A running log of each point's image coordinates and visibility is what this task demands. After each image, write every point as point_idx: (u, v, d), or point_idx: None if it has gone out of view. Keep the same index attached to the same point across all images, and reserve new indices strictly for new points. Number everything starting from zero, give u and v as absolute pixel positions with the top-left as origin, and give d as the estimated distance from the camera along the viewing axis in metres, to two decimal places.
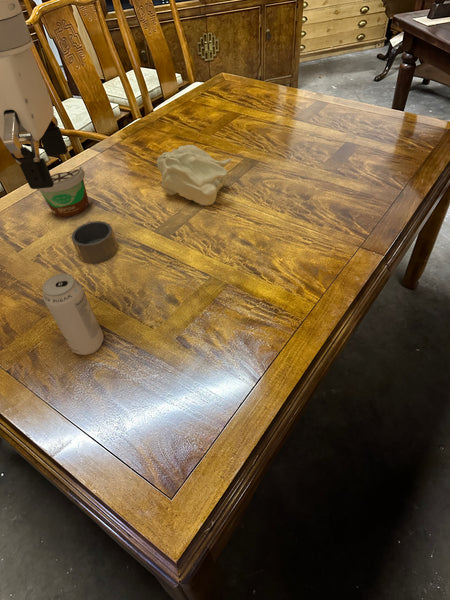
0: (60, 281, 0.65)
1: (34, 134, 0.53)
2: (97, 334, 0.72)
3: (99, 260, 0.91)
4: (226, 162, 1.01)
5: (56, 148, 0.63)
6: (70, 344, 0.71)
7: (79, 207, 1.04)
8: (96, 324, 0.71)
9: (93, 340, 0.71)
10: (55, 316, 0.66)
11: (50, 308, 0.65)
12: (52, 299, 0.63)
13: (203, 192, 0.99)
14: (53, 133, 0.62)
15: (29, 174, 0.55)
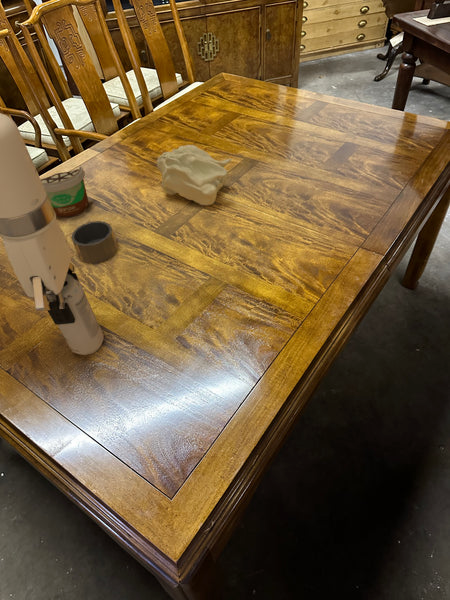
0: None
1: (56, 291, 0.59)
2: (97, 334, 0.72)
3: (99, 260, 0.91)
4: (226, 162, 1.01)
5: None
6: (70, 344, 0.71)
7: (79, 207, 1.04)
8: (96, 324, 0.71)
9: (93, 340, 0.71)
10: None
11: None
12: (52, 299, 0.63)
13: (203, 192, 0.99)
14: None
15: (54, 316, 0.63)
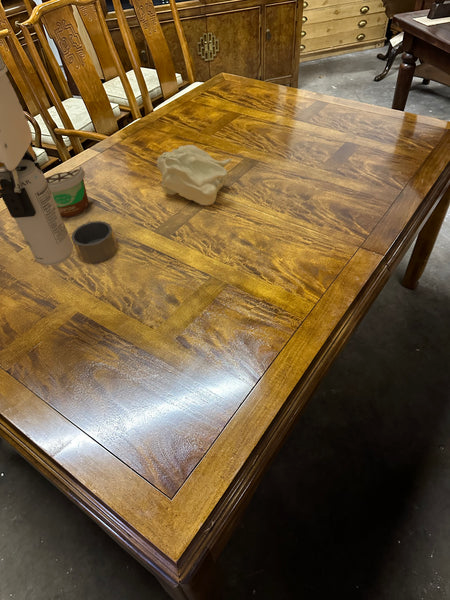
0: (18, 166, 0.56)
1: (8, 164, 0.50)
2: (64, 240, 0.63)
3: (99, 260, 0.91)
4: (226, 162, 1.01)
5: None
6: (33, 249, 0.62)
7: (79, 207, 1.04)
8: (63, 228, 0.62)
9: (59, 246, 0.62)
10: None
11: None
12: None
13: (203, 192, 0.99)
14: None
15: (10, 204, 0.54)
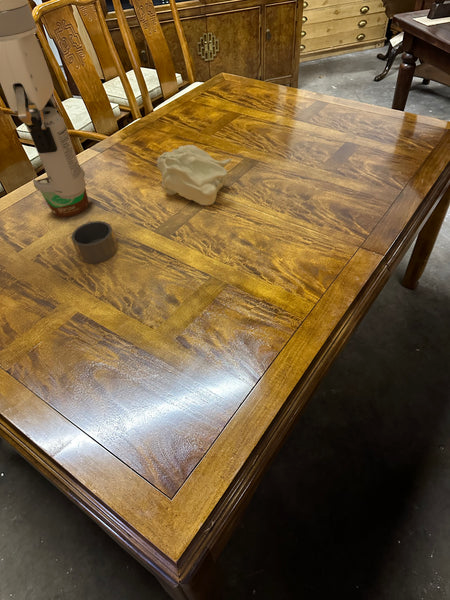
0: (43, 111, 0.70)
1: (37, 104, 0.64)
2: (79, 176, 0.77)
3: (99, 260, 0.91)
4: (226, 162, 1.01)
5: None
6: (54, 184, 0.76)
7: (79, 207, 1.04)
8: (78, 166, 0.76)
9: (75, 181, 0.76)
10: None
11: None
12: None
13: (203, 192, 0.99)
14: None
15: (37, 140, 0.68)
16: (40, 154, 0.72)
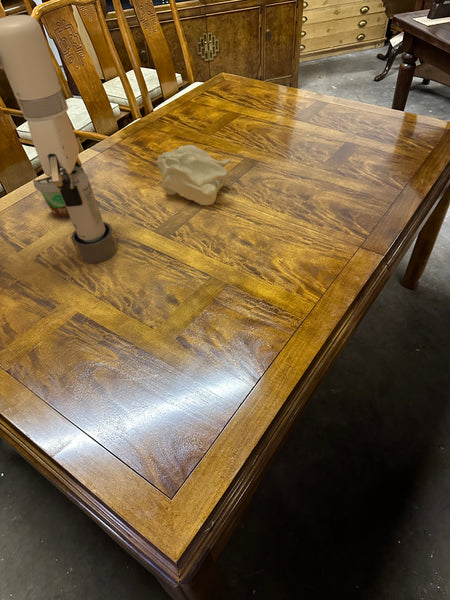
0: None
1: (67, 169, 0.75)
2: (100, 223, 0.88)
3: (99, 260, 0.91)
4: (226, 162, 1.01)
5: None
6: (78, 230, 0.87)
7: None
8: (99, 214, 0.87)
9: (97, 227, 0.87)
10: None
11: None
12: None
13: (203, 192, 0.99)
14: None
15: (66, 197, 0.79)
16: None
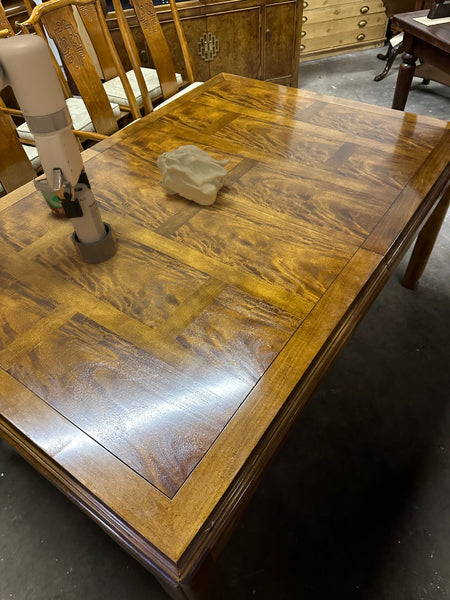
0: (76, 188, 0.83)
1: (72, 182, 0.77)
2: None
3: (99, 260, 0.91)
4: (226, 162, 1.01)
5: None
6: None
7: None
8: (104, 229, 0.90)
9: None
10: None
11: None
12: None
13: (203, 192, 0.99)
14: (81, 176, 0.86)
15: (67, 209, 0.79)
16: (73, 222, 0.86)
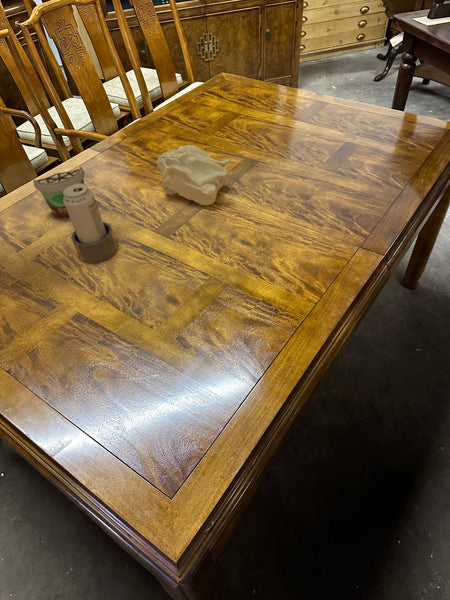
0: (76, 188, 0.83)
1: None
2: None
3: (99, 260, 0.91)
4: (226, 162, 1.01)
5: None
6: None
7: None
8: (104, 229, 0.90)
9: None
10: (72, 216, 0.84)
11: (69, 209, 0.83)
12: (71, 200, 0.82)
13: (203, 192, 0.99)
14: None
15: None
16: (73, 222, 0.86)
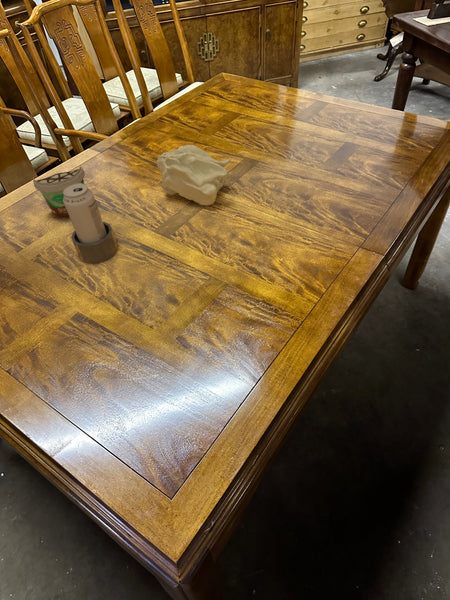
0: (76, 188, 0.83)
1: None
2: None
3: (99, 260, 0.91)
4: (226, 162, 1.01)
5: None
6: None
7: None
8: (104, 229, 0.90)
9: None
10: (72, 216, 0.84)
11: (69, 209, 0.83)
12: (71, 200, 0.82)
13: (203, 192, 0.99)
14: None
15: None
16: (73, 222, 0.86)
